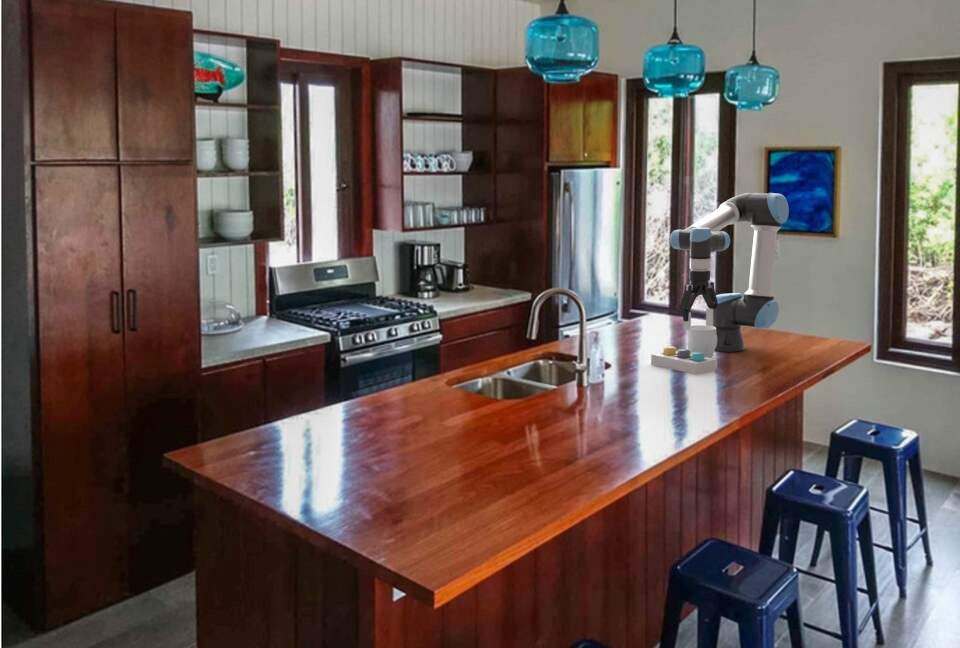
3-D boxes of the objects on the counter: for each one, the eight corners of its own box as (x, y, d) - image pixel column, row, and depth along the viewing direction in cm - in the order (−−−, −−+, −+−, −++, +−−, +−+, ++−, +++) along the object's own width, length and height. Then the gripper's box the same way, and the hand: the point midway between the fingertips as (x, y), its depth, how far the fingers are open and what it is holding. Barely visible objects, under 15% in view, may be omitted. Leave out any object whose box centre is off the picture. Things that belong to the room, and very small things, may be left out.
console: (672, 360, 353) (672, 350, 352) (716, 369, 335) (716, 359, 335) (651, 364, 346) (651, 354, 345) (695, 374, 328) (695, 363, 328)
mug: (704, 354, 362) (705, 322, 360) (727, 358, 354) (728, 326, 352) (681, 359, 353) (681, 327, 351) (703, 364, 345) (704, 331, 342)
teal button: (697, 361, 338) (697, 351, 337) (707, 363, 334) (707, 353, 333) (688, 363, 335) (688, 353, 334) (698, 365, 331) (698, 355, 331)
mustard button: (669, 355, 349) (669, 345, 348) (678, 357, 345) (678, 347, 344) (660, 357, 346) (660, 347, 345) (670, 359, 342) (670, 349, 342)
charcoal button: (682, 358, 343) (683, 348, 343) (692, 360, 340) (692, 350, 339) (674, 360, 341) (674, 350, 340) (684, 362, 337) (684, 352, 336)
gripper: (713, 266, 338) (711, 322, 342) (669, 271, 324) (668, 330, 328) (729, 268, 332) (727, 325, 336) (685, 273, 318) (684, 333, 322)
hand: (698, 327), depth 332 cm, fingers open, 12 cm apart
